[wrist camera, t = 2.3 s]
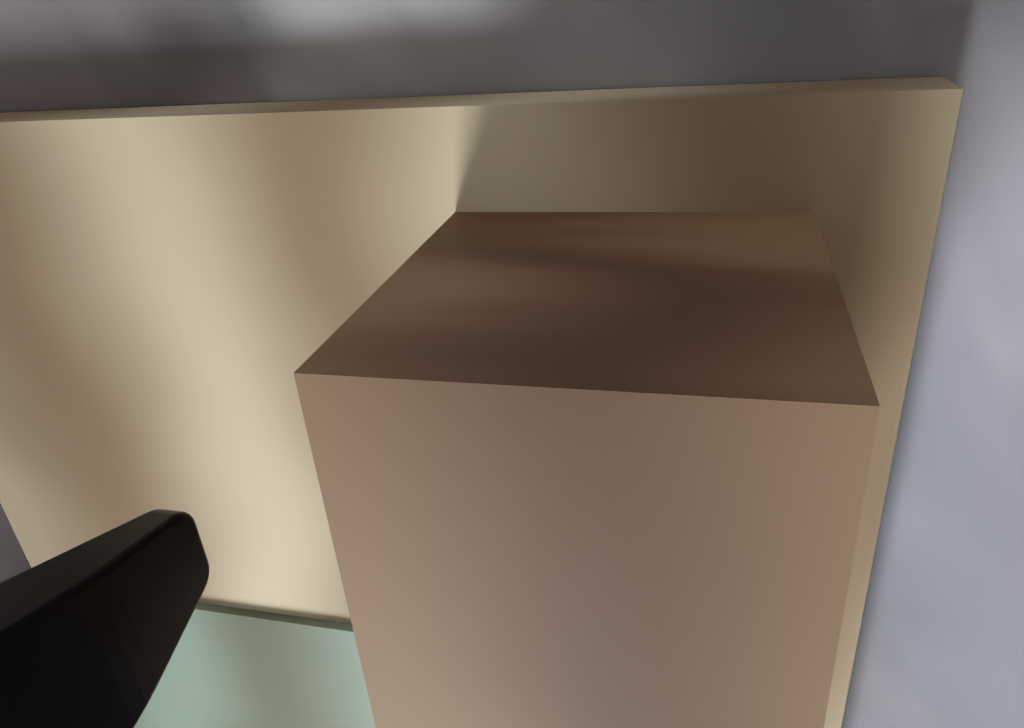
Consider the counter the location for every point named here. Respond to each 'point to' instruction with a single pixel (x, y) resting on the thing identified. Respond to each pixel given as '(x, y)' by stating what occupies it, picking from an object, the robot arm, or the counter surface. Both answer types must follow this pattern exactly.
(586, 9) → the counter surface
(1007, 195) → the counter surface
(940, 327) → the counter surface
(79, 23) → the counter surface
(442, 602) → the walnut block
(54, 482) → the birch board
